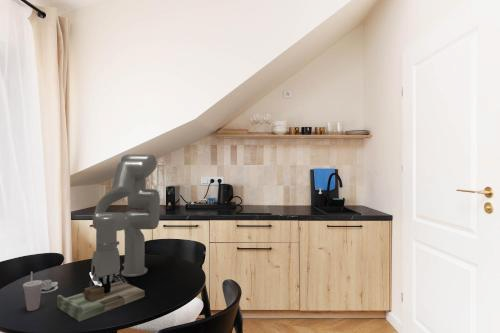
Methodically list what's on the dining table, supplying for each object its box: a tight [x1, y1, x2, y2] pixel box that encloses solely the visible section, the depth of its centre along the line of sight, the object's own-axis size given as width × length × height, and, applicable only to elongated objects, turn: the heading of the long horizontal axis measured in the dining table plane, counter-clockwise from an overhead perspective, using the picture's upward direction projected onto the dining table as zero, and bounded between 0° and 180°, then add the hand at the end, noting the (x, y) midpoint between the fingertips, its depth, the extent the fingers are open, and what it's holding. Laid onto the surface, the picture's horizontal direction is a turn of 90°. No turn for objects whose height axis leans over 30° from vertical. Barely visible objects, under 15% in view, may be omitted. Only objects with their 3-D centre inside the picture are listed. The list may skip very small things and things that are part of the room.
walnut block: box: [84, 284, 104, 302], centre depth 120 cm, size 5×5×4 cm
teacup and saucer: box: [41, 279, 59, 294], centre depth 135 cm, size 9×8×4 cm
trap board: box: [56, 280, 146, 323], centre depth 123 cm, size 18×26×4 cm
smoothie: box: [22, 271, 44, 312], centre depth 117 cm, size 6×6×14 cm
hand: (106, 292), depth 124 cm, fingers closed
